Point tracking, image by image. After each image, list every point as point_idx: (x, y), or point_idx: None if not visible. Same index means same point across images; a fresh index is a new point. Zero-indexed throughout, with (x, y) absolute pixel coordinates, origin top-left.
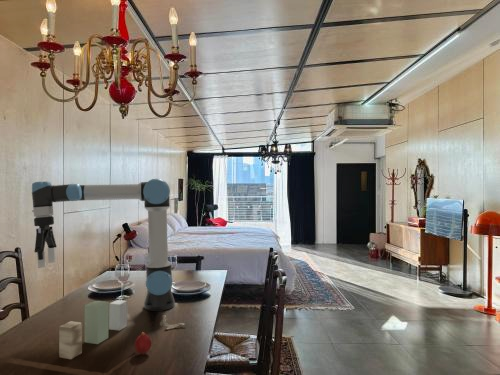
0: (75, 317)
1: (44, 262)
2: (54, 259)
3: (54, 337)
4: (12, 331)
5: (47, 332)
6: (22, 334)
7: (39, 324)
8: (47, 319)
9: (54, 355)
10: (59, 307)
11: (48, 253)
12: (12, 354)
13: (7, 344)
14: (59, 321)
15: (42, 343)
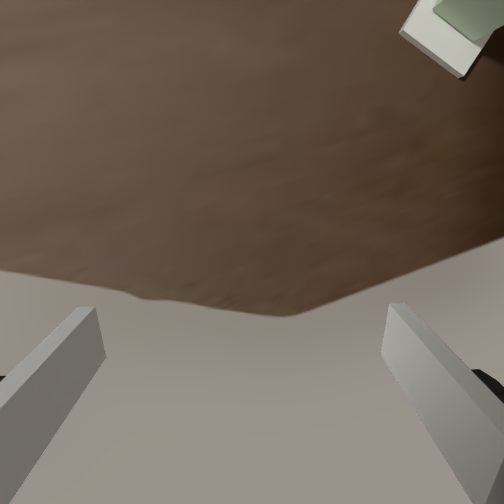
0: (172, 146)
1: (431, 333)
2: (81, 325)
3: (356, 167)
4: (266, 308)
5: (305, 203)
6: (300, 271)
7: (222, 252)
8: (176, 242)
9: (497, 127)
10: (39, 241)
11: (46, 437)
12: (441, 244)
13: (366, 283)
14: (206, 194)
15: (393, 190)
